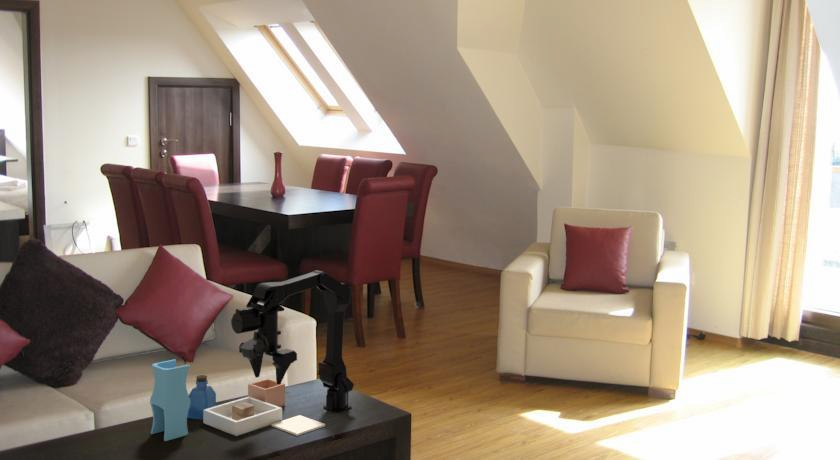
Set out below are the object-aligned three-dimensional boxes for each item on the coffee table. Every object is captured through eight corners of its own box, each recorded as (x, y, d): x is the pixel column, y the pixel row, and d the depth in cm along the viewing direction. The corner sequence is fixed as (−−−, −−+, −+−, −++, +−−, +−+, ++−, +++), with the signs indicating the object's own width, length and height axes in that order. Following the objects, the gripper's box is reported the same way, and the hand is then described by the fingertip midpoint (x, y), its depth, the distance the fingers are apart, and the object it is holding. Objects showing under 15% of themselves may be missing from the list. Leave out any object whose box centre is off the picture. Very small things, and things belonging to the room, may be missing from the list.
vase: (190, 434, 245) (190, 365, 242) (165, 441, 239) (164, 370, 237) (175, 426, 250) (174, 359, 248) (150, 433, 245) (149, 364, 242)
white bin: (249, 408, 267) (249, 396, 266) (282, 421, 258) (282, 408, 257) (203, 422, 254) (203, 409, 253) (236, 436, 245) (236, 422, 244)
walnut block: (244, 416, 259) (244, 401, 258) (254, 420, 256) (254, 405, 255) (232, 420, 255) (232, 405, 255) (241, 424, 253) (241, 409, 252)
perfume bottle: (206, 420, 257) (206, 380, 255) (187, 418, 258) (187, 378, 256) (215, 413, 263) (215, 374, 261) (196, 411, 264) (196, 372, 262)
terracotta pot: (267, 399, 276) (268, 378, 275) (284, 405, 271) (285, 384, 270) (247, 405, 270) (248, 384, 269) (264, 412, 265) (265, 389, 264)
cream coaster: (299, 416, 262) (299, 414, 261) (325, 426, 255) (325, 424, 255) (271, 426, 253) (271, 424, 253) (297, 435, 246) (297, 433, 246)
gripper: (224, 327, 248) (224, 380, 250) (268, 339, 236) (268, 394, 239) (254, 320, 257) (254, 371, 259) (298, 331, 245) (298, 385, 247)
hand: (267, 380), depth 251 cm, fingers open, 9 cm apart
